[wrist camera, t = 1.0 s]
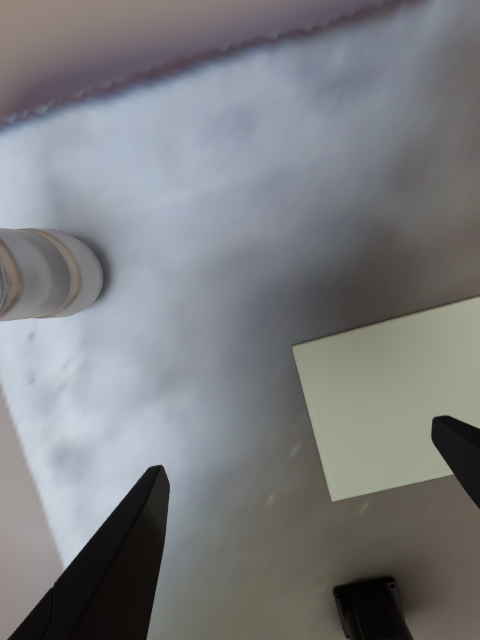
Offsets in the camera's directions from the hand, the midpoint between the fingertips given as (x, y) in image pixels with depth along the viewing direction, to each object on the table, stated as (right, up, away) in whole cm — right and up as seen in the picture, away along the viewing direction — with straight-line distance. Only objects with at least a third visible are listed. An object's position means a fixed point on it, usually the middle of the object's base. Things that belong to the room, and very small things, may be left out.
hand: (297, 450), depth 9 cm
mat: (+12, -3, +15) cm, 20 cm away
